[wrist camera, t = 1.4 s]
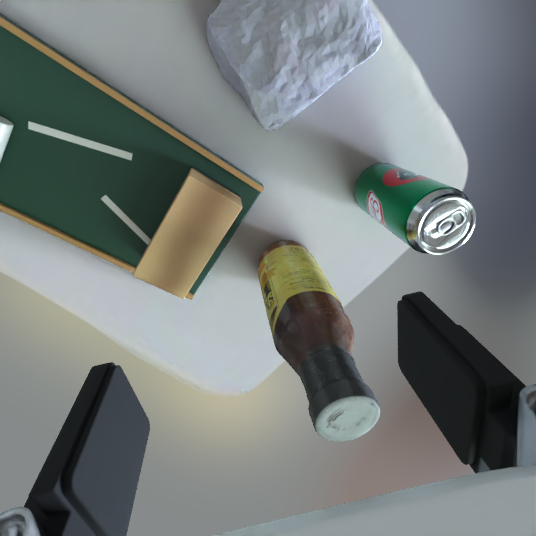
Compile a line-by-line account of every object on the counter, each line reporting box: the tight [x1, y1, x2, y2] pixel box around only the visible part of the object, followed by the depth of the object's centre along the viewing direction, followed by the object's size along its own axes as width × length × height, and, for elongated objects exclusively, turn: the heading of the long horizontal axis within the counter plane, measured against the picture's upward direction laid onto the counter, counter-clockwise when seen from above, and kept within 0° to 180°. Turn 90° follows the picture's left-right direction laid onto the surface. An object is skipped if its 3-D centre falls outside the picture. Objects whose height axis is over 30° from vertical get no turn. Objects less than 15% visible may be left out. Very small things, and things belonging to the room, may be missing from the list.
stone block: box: [206, 0, 382, 131], centre depth 26 cm, size 12×5×10 cm
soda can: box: [354, 163, 476, 255], centre depth 29 cm, size 5×5×12 cm
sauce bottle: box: [258, 240, 380, 441], centre depth 28 cm, size 6×6×20 cm
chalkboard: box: [0, 14, 264, 300], centre depth 30 cm, size 26×14×2 cm, turn 56°
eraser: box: [133, 166, 242, 299], centre depth 31 cm, size 5×10×4 cm, turn 146°
